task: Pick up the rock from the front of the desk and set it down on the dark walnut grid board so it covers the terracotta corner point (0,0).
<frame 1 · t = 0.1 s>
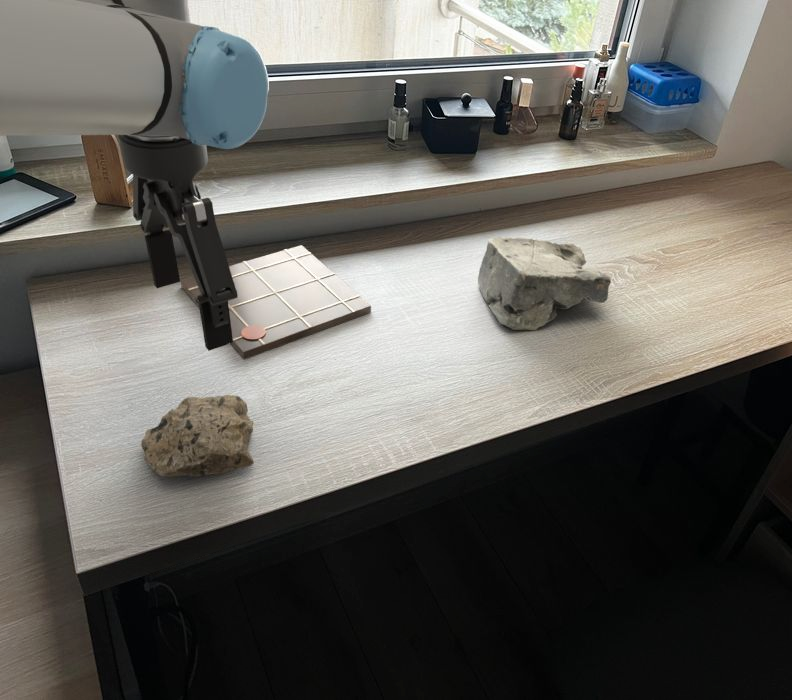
hand: (192, 313, 80), 13 cm above the table, tool pointing down, fingers open, 13 cm apart
rock: (202, 450, 82), on the table
grey broken concrete chunk: (538, 300, 113), on the table
grid board: (276, 299, 106), on the table
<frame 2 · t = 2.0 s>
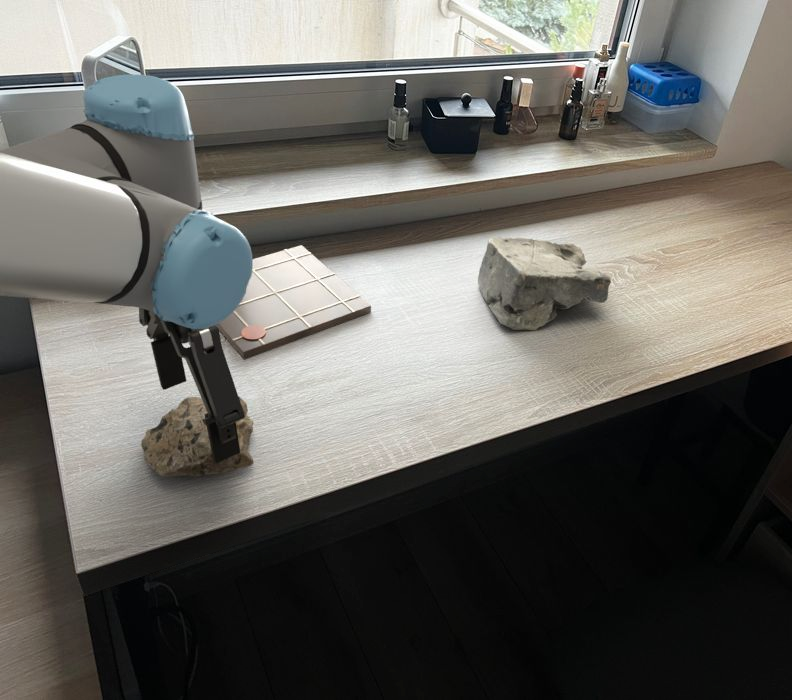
hand: (199, 418, 80), 5 cm above the table, tool pointing down, fingers open, 13 cm apart
nothing on the table moved.
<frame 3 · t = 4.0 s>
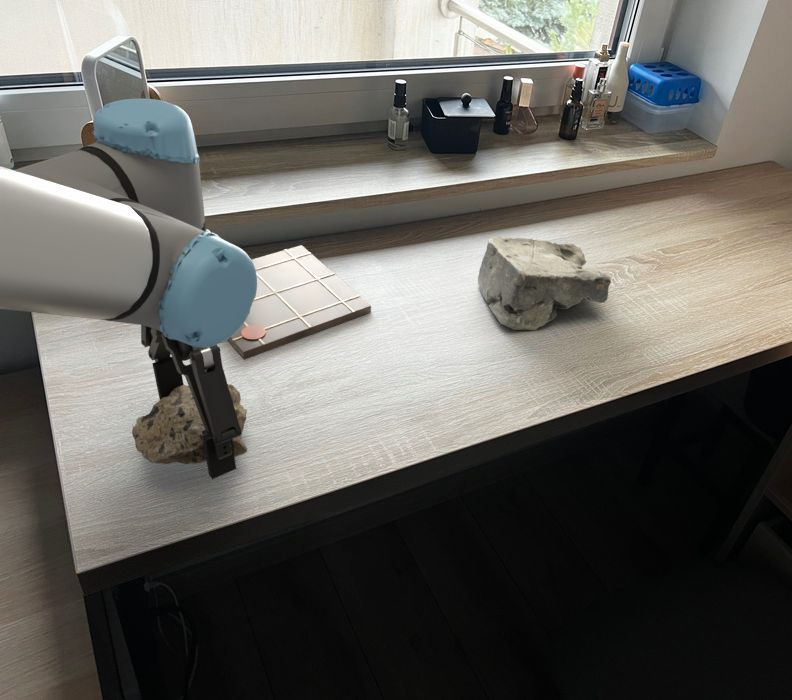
hand: (197, 436, 81), 2 cm above the table, tool pointing down, fingers closed on rock, 12 cm apart
rock: (194, 438, 81), point 2 cm above the table, touching gripper
everything else where it was.
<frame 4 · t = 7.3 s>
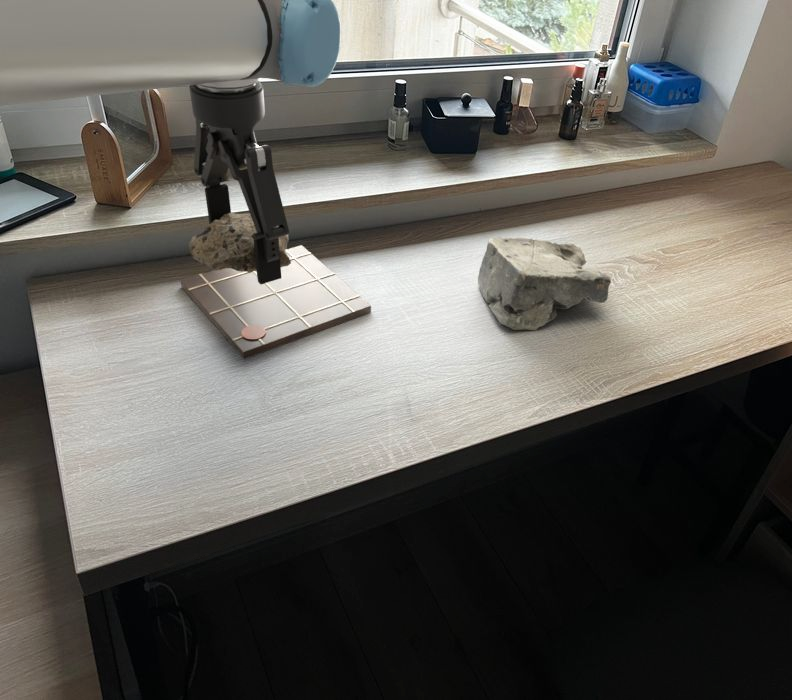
hand: (245, 255, 90), 13 cm above the table, tool pointing down, fingers closed on rock, 12 cm apart
rock: (243, 257, 90), point 13 cm above the table, touching gripper
everything else where it was.
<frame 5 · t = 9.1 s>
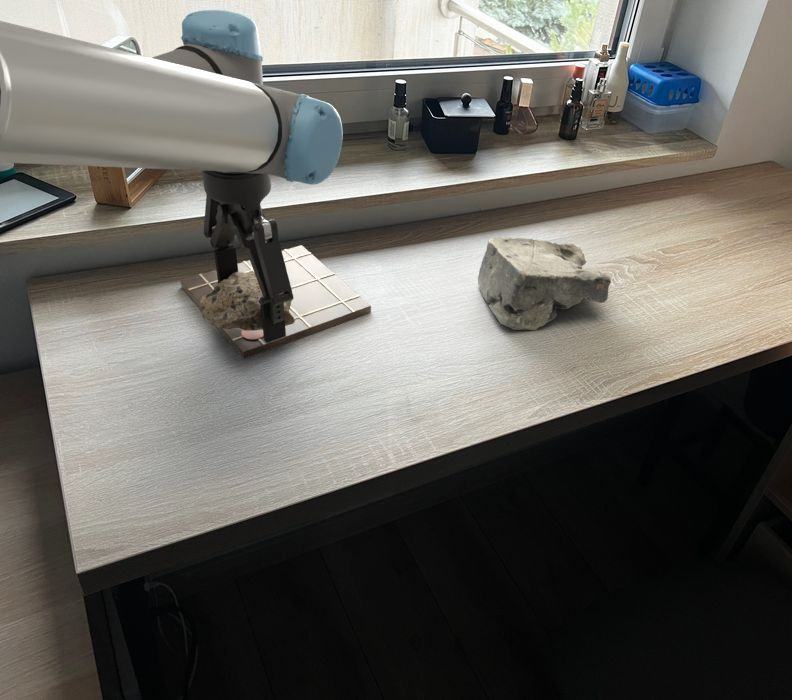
hand: (251, 313, 96), 4 cm above the table, tool pointing down, fingers closed on rock, 12 cm apart
rock: (249, 315, 96), point 4 cm above the table, touching gripper
everything else where it was.
when the fingers open (2 cm above the table, at t = 10.5 s): rock stays where it is, resting on grid board.
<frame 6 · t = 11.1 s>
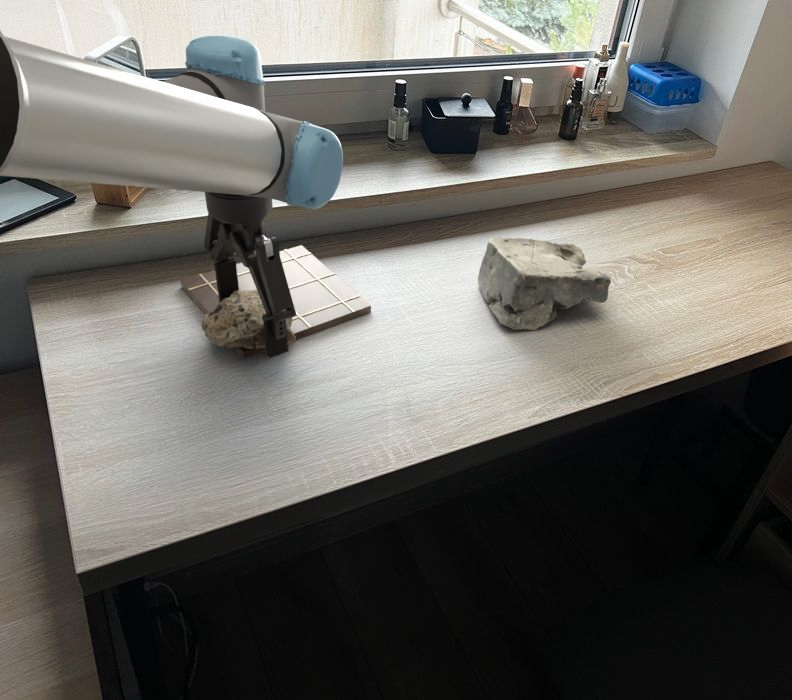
hand: (252, 326, 97), 2 cm above the table, tool pointing down, fingers open, 13 cm apart
rock: (251, 332, 98), point 1 cm above the table, touching grid board
everything else where it was.
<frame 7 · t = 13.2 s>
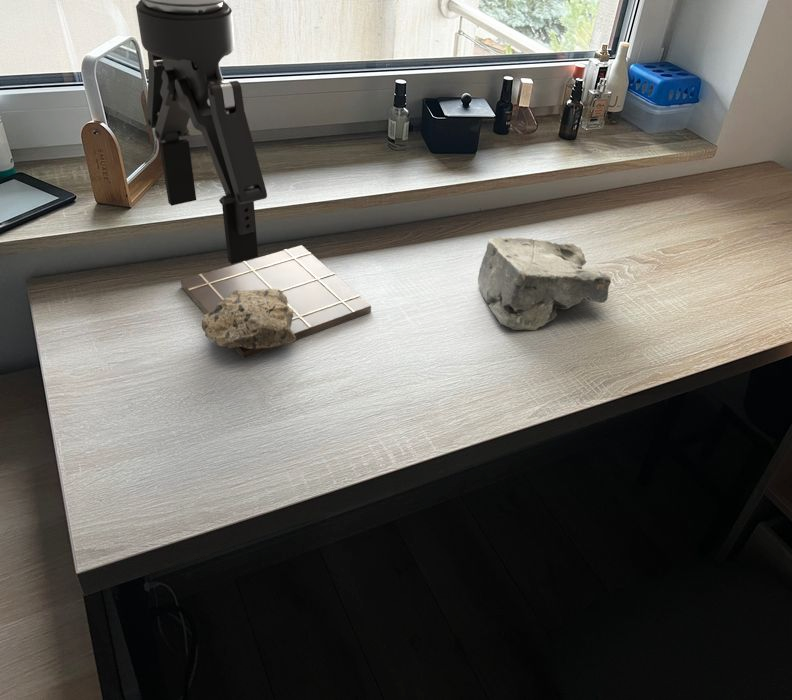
hand: (211, 229, 73), 25 cm above the table, tool pointing down, fingers open, 13 cm apart
nothing on the table moved.
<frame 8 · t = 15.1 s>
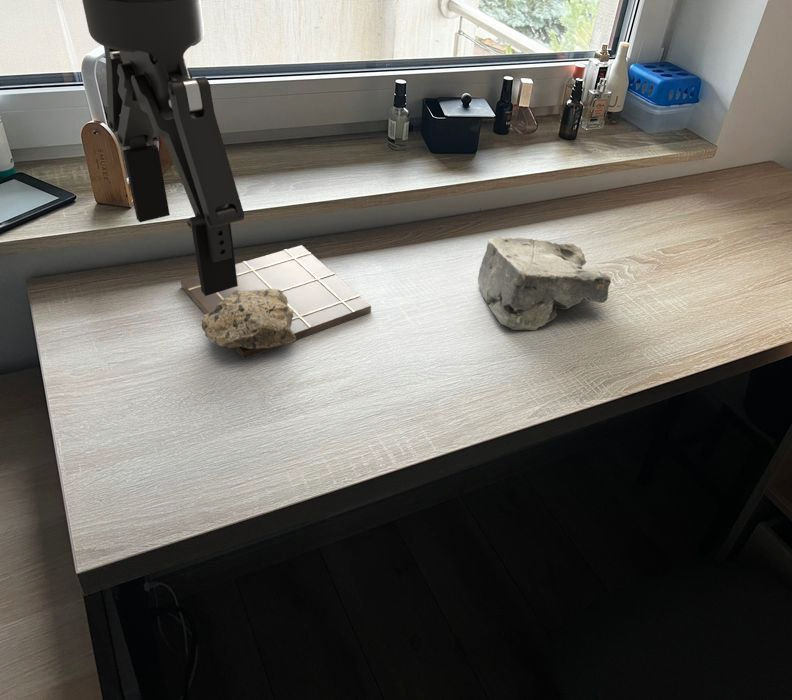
hand: (184, 251, 62), 29 cm above the table, tool pointing down, fingers open, 13 cm apart
nothing on the table moved.
at the end: rock 0.4 cm from the target spot on the grid board, point 1.2 cm above the grid board's base; the gripper is holding nothing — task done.
